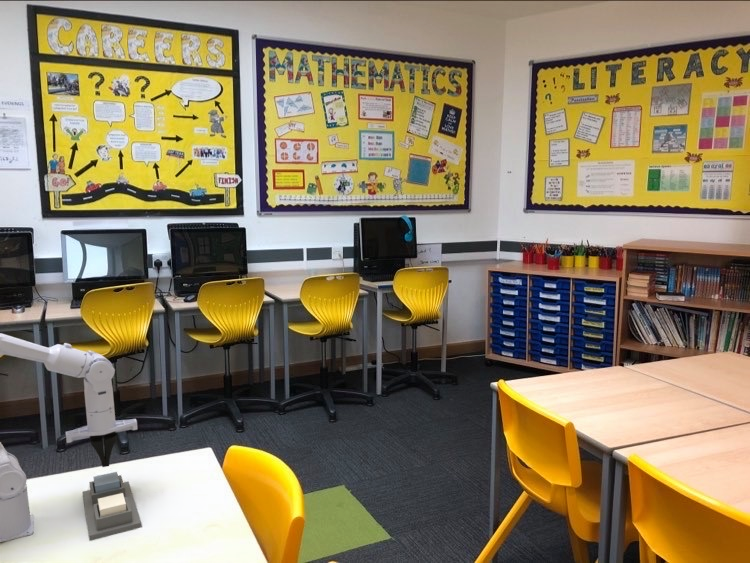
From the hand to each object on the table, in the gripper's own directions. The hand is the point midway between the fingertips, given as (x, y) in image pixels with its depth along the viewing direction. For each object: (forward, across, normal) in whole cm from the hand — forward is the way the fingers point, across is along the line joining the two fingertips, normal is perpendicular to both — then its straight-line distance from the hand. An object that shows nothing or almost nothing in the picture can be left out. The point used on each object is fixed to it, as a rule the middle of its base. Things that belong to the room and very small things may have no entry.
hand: (105, 464), depth 140 cm
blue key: (+5, 0, 0) cm, 5 cm away
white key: (+5, 0, +11) cm, 12 cm away
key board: (+8, 0, +6) cm, 10 cm away
